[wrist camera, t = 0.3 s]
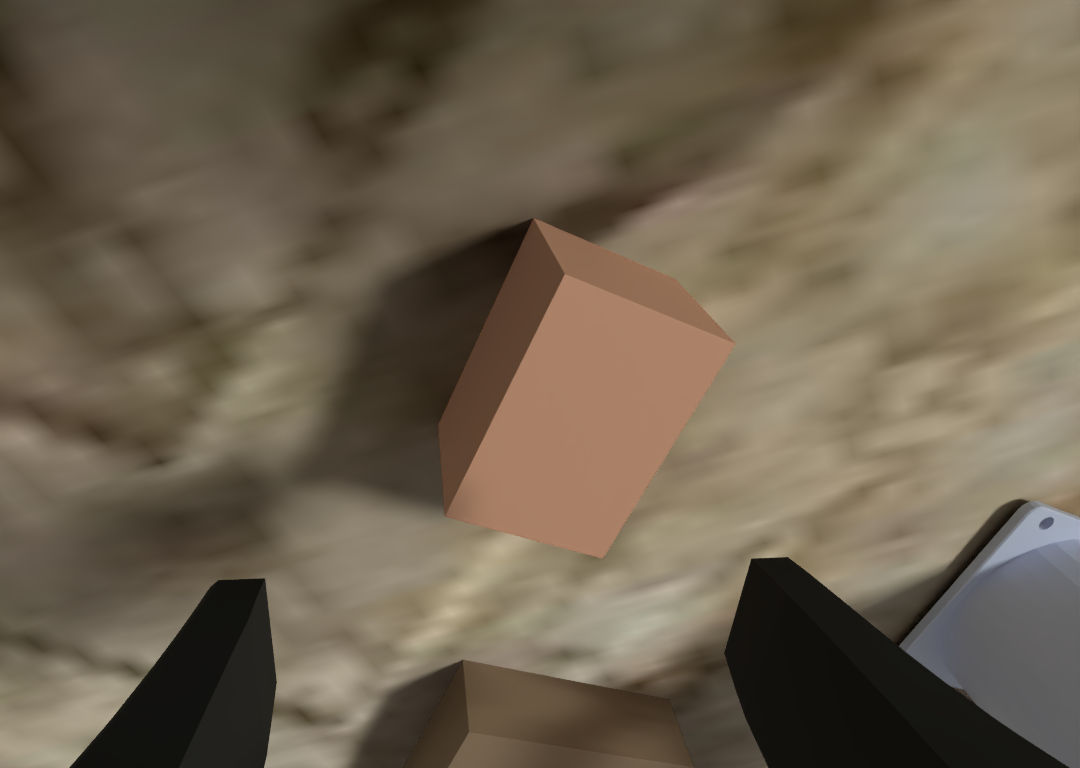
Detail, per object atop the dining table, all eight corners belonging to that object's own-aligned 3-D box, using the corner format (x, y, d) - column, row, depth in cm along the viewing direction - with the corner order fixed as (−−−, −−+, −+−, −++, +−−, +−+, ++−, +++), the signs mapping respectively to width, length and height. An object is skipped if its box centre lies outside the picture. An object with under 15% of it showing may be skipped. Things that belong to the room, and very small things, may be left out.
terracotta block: (673, 277, 18) (735, 343, 15) (569, 463, 21) (602, 558, 17) (532, 216, 17) (565, 274, 14) (437, 421, 19) (444, 516, 16)
